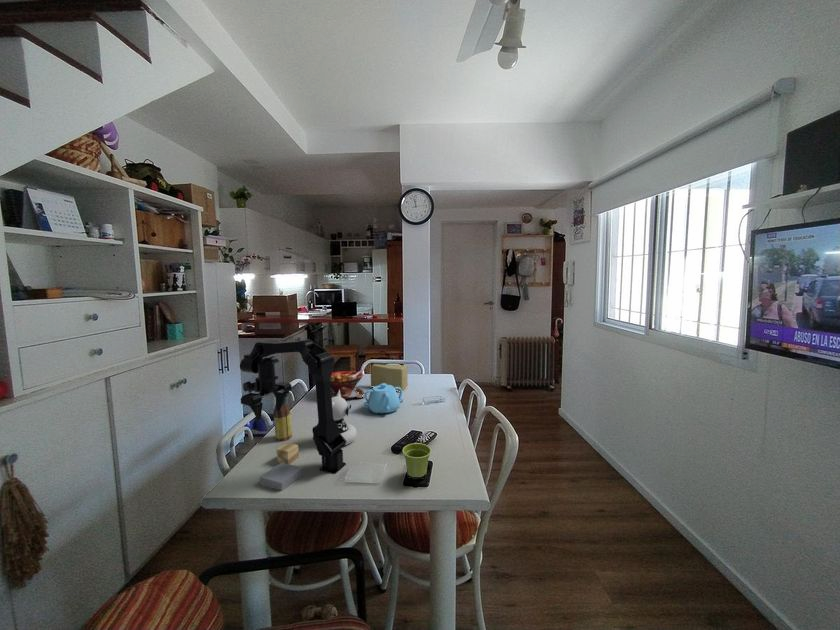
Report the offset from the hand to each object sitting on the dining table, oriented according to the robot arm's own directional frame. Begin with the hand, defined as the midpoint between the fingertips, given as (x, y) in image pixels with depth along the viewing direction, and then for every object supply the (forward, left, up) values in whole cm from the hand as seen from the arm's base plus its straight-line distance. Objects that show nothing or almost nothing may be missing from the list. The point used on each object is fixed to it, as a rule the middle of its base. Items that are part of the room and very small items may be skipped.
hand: (269, 415), depth 122 cm
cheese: (-7, -82, -15) cm, 83 cm away
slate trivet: (-17, +12, -14) cm, 26 cm away
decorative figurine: (-18, -17, -15) cm, 29 cm away
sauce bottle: (+4, -10, -15) cm, 18 cm away
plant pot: (-57, -6, -15) cm, 59 cm away
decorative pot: (-20, -52, -15) cm, 58 cm away
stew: (+10, -63, -15) cm, 65 cm away
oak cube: (-10, +2, -15) cm, 18 cm away
